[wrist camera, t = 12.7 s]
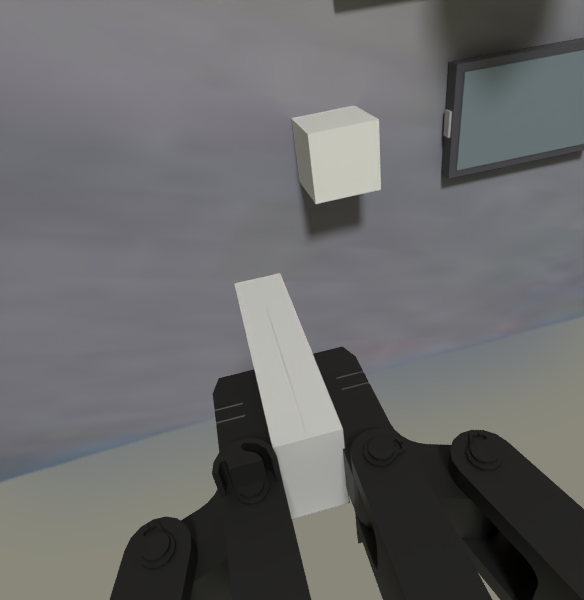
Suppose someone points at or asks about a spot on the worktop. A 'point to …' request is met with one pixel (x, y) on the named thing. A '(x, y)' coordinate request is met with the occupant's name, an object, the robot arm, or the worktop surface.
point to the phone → (514, 108)
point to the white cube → (337, 153)
